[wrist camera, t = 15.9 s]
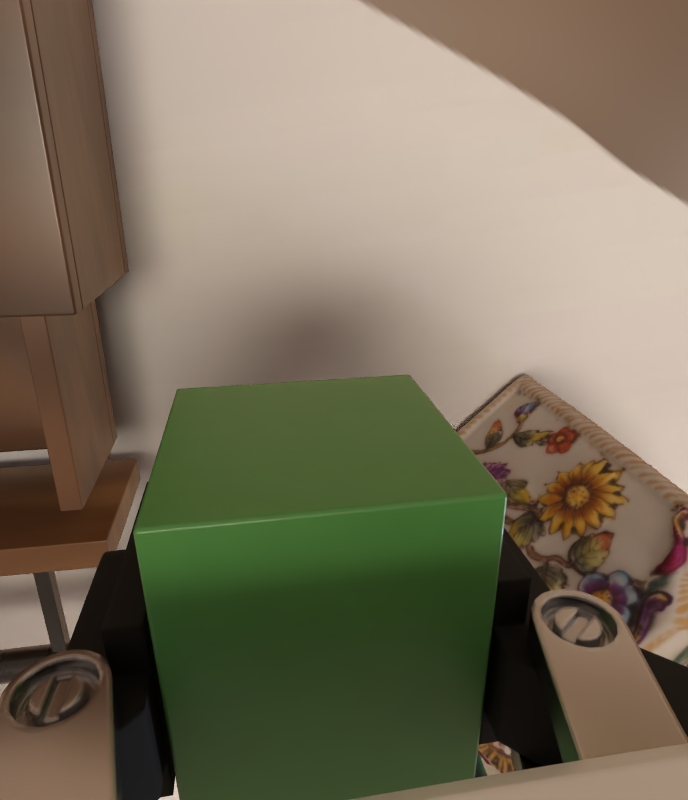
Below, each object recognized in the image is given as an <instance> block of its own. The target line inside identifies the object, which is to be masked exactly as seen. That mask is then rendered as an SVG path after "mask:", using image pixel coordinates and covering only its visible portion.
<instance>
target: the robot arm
mask: <svg viewBox="0 0 688 800" xmlns="http://www.w3.org/2000/svg"><path fill="white" fill-rule="evenodd" d="M147 485H148V482H147V484H146V487H145V490H144V494H143V497H142V500H141V503H140V506H139V510H138V513H137V516H136V519H135V522H134V526H133V529H132V532H131V535H130V538H129V541H128V545H127V548H126V550H117V551H107V552H105V553H103V555H102V557H101V559H100V562H99V565H98V567H97V570H96V573H95V576H94V578H93V581H92V584H91V586H90V589H89V592H88V594H87V597H86V600H85V603H84V605H83V608H82V611H81V613H80V616H79V619H78V621H77V624H76V627H75V629H74V632H73V635H72V638H71V640H70V643H69V646H68V648H67V651H62V652H58V653H55V654H52V655H50V656H47V657H44V658H42V659H40V660H38V661H37V662H35V663H33V664H32V665H30V666H28V667H27V668H25V669H24V670H23V671H22V672H21V673H19V674H18V675H17V676H16V677H15V678H14V679H12V681H11V682H10V683H9V685H8V686H7V687H6V689H5V690H4V691H3V693H2V694H1V697H0V800H158V799H159V798H160V797H165V796H171V795H173V791H174V782H175V770H174V765H173V759H172V753H171V747H170V742H169V736H168V730H167V724H166V719H165V713H164V707H163V701H162V696H161V690H160V684H159V678H158V673H157V667H156V661H155V655H154V650H153V644H152V638H151V632H150V627H149V621H148V615H147V609H146V604H145V598H144V592H143V586H142V581H141V575H140V569H139V563H138V558H137V552H136V546H135V540H134V535H133V531H134V528H135V524H136V521H137V518H138V515H139V511H140V508H141V505H142V502H143V498H144V495H145V492H146V489H147ZM492 742H500V743H502V744H504V745H505V746H507V747H509V748H511V759H512V764H513V768H514V771H513V772H507V773H501V774H495V775H489V776H483V777H477V778H472V779H466V780H460V781H454V782H448V783H443V784H437V785H431V786H425V787H419V788H414V789H408V790H402V791H396V792H390V793H385V794H379V795H373V796H367V797H362V798H356V799H350V800H688V667H686V666H684V665H681V664H679V663H676V662H674V661H672V660H669V659H667V658H664V657H662V656H659V655H657V654H655V653H652V652H650V651H647V650H645V649H642V648H640V647H639V646H638V644H637V642H636V641H635V639H634V637H633V635H632V633H631V631H630V629H629V628H628V626H627V624H626V622H625V621H624V619H623V618H622V617H621V615H620V614H619V613H618V611H616V610H615V609H614V608H613V607H612V606H610V605H609V604H608V603H607V602H605V601H603V600H601V599H599V598H597V597H595V596H593V595H590V594H587V593H584V592H581V591H577V590H570V589H557V590H550V589H549V588H548V586H547V585H546V583H545V582H544V581H543V579H542V578H541V577H540V575H539V574H538V573H537V571H536V570H535V568H534V567H533V566H532V564H531V563H530V562H529V560H528V559H527V558H526V556H525V555H524V554H523V552H522V551H521V549H520V548H519V547H518V545H517V544H516V543H515V541H514V540H513V539H512V537H511V536H510V534H509V533H508V532H507V530H506V529H505V528H504V531H503V539H502V548H501V557H500V565H499V574H498V582H497V591H496V600H495V608H494V617H493V625H492V634H491V642H490V651H489V660H488V668H487V677H486V685H485V694H484V703H483V711H482V720H481V728H480V737H479V745H480V744H486V743H492Z"/></svg>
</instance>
